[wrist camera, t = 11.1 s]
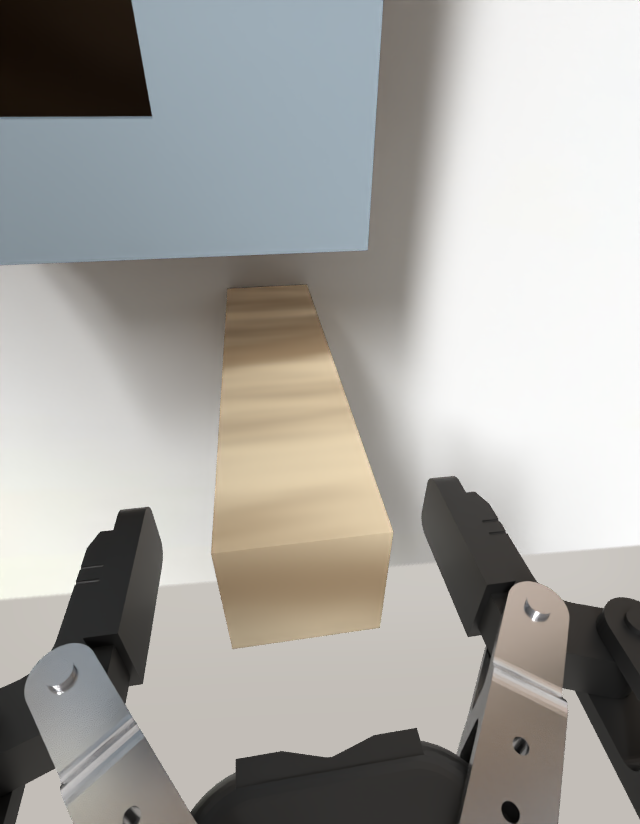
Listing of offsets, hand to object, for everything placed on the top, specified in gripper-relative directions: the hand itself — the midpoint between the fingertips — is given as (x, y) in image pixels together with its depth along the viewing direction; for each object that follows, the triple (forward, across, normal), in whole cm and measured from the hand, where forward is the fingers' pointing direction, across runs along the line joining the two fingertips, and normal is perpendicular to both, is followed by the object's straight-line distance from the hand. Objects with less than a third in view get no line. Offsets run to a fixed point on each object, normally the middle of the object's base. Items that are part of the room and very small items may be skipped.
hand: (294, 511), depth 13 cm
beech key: (+13, 0, 0) cm, 13 cm away
